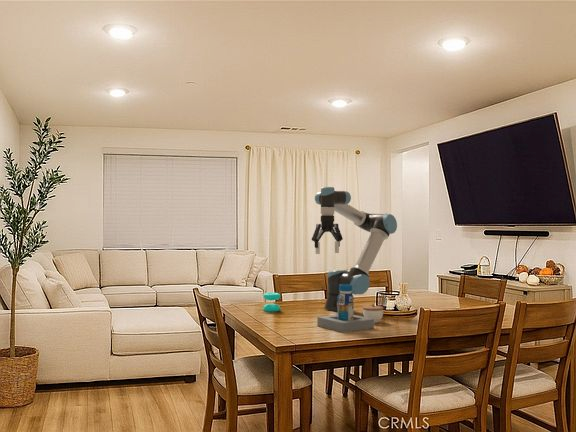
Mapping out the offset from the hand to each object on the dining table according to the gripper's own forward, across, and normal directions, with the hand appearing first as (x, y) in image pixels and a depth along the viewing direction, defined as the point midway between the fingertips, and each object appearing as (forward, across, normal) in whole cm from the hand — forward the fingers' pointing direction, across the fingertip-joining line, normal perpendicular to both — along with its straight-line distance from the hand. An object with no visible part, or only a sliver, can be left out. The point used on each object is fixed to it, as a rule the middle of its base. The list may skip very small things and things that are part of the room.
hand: (327, 253), depth 334 cm
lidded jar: (+35, -9, +27) cm, 45 cm away
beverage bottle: (+34, +12, +29) cm, 46 cm away
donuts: (+35, +16, -32) cm, 49 cm away
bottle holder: (+34, +13, +30) cm, 48 cm away
